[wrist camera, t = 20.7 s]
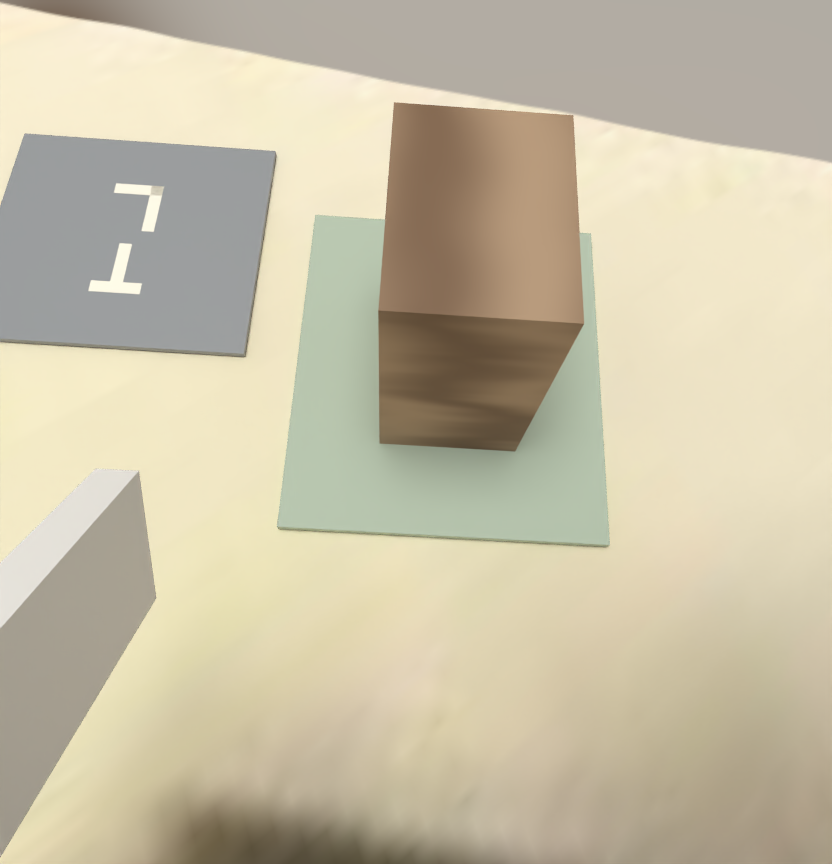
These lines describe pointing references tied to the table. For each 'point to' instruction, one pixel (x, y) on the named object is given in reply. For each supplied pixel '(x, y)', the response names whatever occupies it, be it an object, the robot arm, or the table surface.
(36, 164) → the gray tile
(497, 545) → the table surface
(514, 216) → the walnut block
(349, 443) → the rubber mat
